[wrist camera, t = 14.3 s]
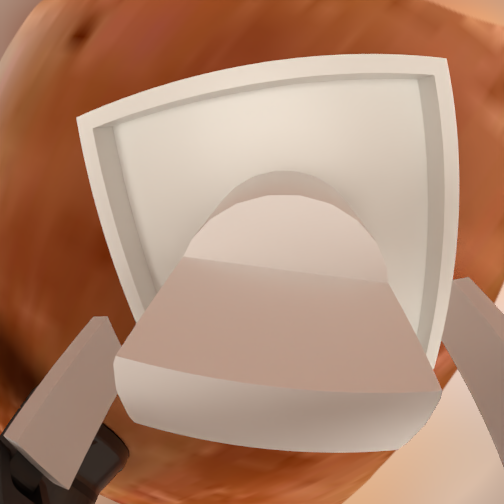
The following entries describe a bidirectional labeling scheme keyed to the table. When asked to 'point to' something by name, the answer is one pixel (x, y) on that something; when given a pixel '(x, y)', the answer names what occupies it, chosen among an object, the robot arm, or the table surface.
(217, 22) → the table surface
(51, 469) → the robot arm
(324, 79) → the tray
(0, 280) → the table surface
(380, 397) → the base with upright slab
